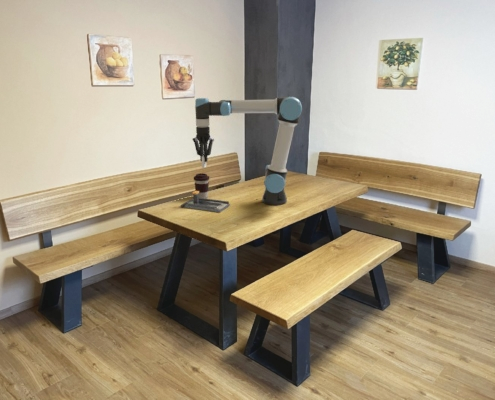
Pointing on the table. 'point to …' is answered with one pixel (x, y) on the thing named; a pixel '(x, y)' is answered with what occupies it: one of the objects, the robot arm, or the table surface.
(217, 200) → the long dark grey rail
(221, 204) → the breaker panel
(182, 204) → the grey panel edge rail
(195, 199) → the lever
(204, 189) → the coffee cup
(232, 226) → the table surface
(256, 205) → the table surface
